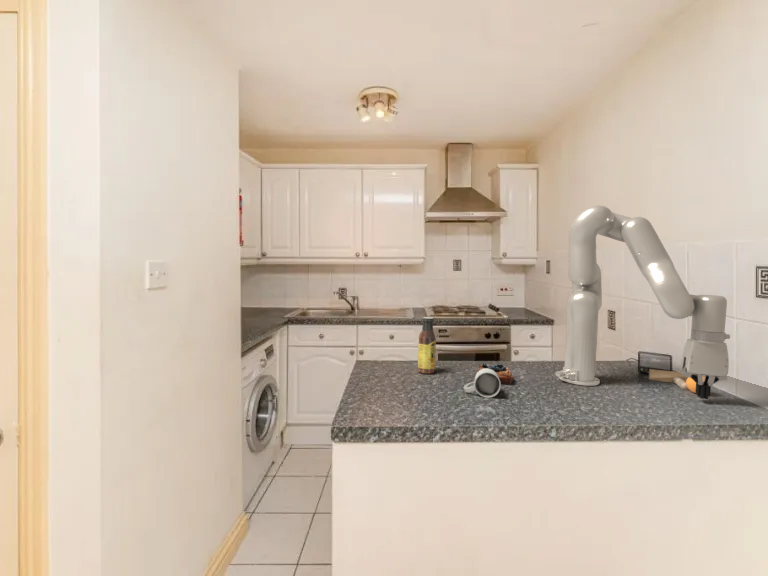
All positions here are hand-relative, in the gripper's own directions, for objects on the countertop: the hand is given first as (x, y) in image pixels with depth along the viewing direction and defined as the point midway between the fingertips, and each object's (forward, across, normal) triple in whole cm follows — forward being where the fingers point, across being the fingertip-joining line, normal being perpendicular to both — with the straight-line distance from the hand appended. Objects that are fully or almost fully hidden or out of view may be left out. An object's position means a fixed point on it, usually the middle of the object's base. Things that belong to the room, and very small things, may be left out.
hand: (702, 397), depth 113 cm
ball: (-2, -3, -10) cm, 10 cm away
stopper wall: (+2, 0, -22) cm, 22 cm away
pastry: (+2, +60, +2) cm, 60 cm away
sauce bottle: (+2, +83, +3) cm, 83 cm away
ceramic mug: (+2, +62, +19) cm, 65 cm away
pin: (0, 0, -12) cm, 12 cm away
